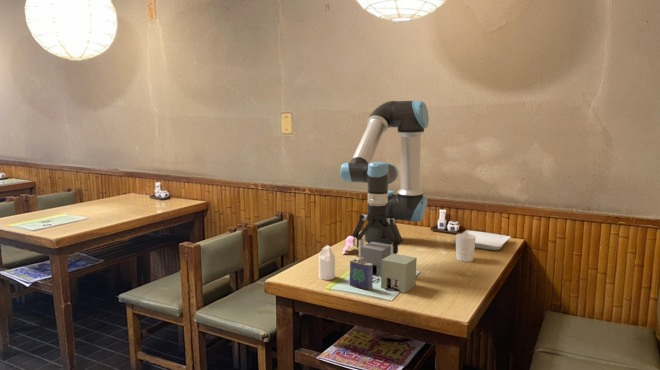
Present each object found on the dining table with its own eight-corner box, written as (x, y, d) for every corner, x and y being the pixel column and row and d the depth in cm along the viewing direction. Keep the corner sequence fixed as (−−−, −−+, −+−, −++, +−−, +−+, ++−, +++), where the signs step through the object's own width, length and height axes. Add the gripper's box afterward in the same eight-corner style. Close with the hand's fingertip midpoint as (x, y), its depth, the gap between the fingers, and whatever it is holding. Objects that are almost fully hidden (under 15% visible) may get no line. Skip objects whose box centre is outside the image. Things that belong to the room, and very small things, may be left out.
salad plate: (500, 253, 214) (500, 246, 213) (452, 246, 225) (452, 239, 224) (511, 242, 231) (511, 235, 231) (466, 236, 242) (466, 229, 242)
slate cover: (360, 272, 187) (360, 246, 186) (371, 266, 195) (371, 241, 193) (381, 277, 182) (381, 250, 181) (392, 270, 190) (392, 245, 188)
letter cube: (390, 287, 172) (390, 276, 171) (395, 284, 175) (396, 273, 175) (401, 289, 170) (401, 278, 169) (406, 286, 173) (406, 275, 173)
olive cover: (380, 287, 171) (381, 259, 170) (392, 280, 179) (393, 253, 177) (404, 293, 167) (405, 264, 165) (415, 285, 174) (416, 257, 172)
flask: (373, 288, 170) (374, 258, 169) (369, 291, 168) (369, 260, 167) (352, 283, 176) (352, 253, 174) (347, 285, 174) (347, 255, 172)
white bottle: (318, 247, 177) (318, 243, 183) (318, 280, 179) (318, 274, 185) (335, 247, 177) (334, 243, 183) (335, 280, 179) (334, 274, 185)
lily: (349, 249, 222) (339, 231, 220) (372, 242, 217) (362, 224, 214) (341, 264, 212) (331, 246, 210) (365, 257, 207) (354, 239, 204)
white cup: (475, 263, 200) (476, 238, 198) (455, 261, 201) (456, 237, 200) (473, 257, 207) (474, 234, 206) (454, 256, 209) (455, 233, 207)
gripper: (343, 201, 188) (343, 255, 192) (404, 209, 175) (402, 267, 178) (353, 198, 194) (353, 250, 198) (412, 205, 181) (411, 261, 185)
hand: (376, 258), depth 188 cm, fingers open, 13 cm apart
